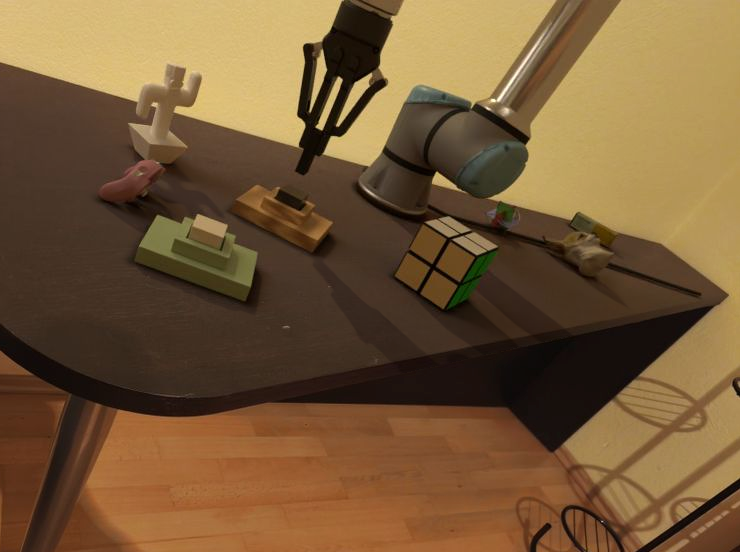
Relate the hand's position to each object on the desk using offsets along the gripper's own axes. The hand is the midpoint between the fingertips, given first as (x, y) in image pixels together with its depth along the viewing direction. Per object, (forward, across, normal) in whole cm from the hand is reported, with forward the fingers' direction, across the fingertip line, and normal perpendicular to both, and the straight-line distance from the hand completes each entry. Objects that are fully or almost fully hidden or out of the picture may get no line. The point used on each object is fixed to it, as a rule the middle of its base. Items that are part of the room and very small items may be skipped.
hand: (301, 171), depth 97 cm
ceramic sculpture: (+9, +56, +56) cm, 80 cm away
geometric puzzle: (+9, +37, +53) cm, 65 cm away
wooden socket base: (+9, 0, 0) cm, 9 cm away
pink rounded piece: (+9, -18, -16) cm, 26 cm away
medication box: (+8, +64, +91) cm, 111 cm away
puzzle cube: (+9, +26, +4) cm, 28 cm away
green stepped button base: (+9, -4, -25) cm, 26 cm away
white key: (+6, -4, -25) cm, 25 cm away
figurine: (+9, -24, +1) cm, 26 cm away
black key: (+5, 0, 0) cm, 5 cm away
